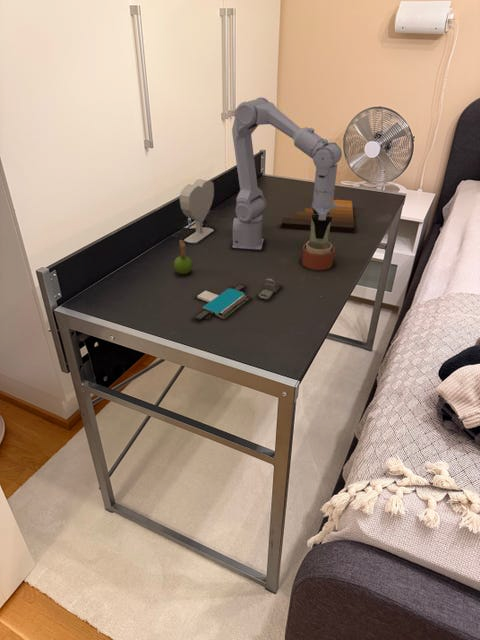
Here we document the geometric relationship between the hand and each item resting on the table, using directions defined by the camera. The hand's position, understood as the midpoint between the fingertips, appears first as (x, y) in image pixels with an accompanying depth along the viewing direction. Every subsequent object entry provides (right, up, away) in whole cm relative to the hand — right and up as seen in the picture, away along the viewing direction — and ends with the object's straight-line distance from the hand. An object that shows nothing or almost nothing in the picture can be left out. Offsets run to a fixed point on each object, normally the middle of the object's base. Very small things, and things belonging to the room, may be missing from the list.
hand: (319, 234), depth 140 cm
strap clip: (-15, -18, -9) cm, 26 cm away
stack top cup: (0, -8, +5) cm, 10 cm away
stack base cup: (0, -8, +5) cm, 10 cm away
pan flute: (+5, +13, +36) cm, 38 cm away
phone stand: (-29, -21, -14) cm, 39 cm away
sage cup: (0, -1, +1) cm, 2 cm away
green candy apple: (-40, -12, -1) cm, 42 cm away
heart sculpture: (-38, +4, +22) cm, 44 cm away
